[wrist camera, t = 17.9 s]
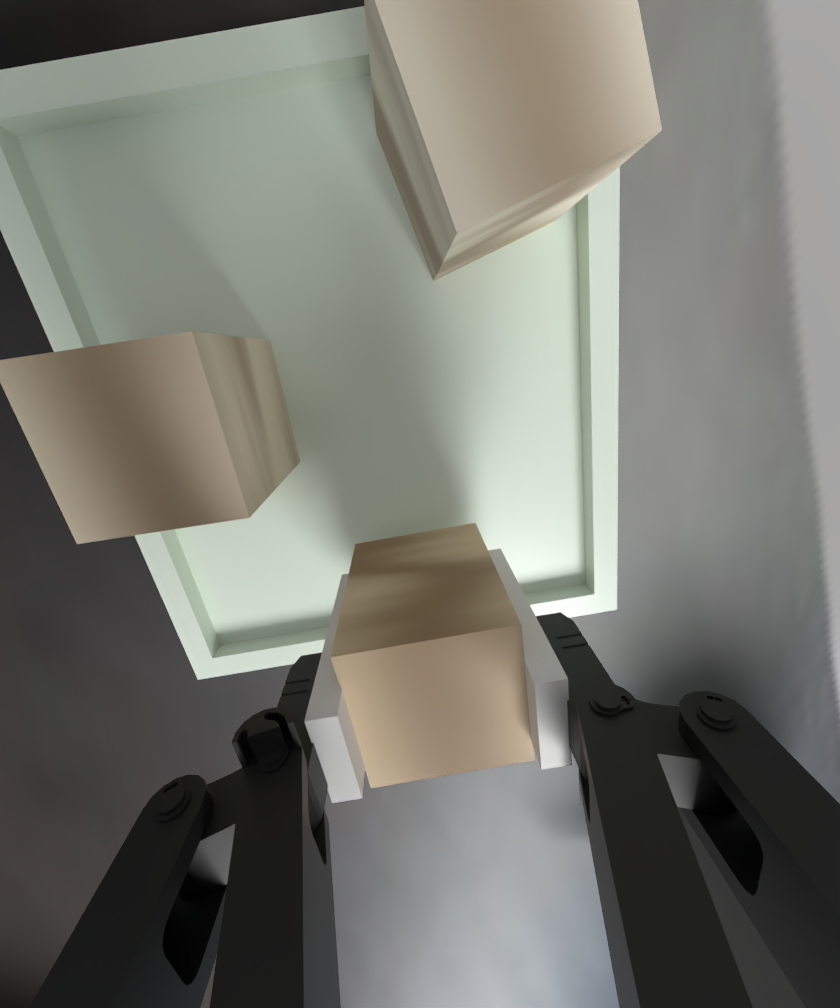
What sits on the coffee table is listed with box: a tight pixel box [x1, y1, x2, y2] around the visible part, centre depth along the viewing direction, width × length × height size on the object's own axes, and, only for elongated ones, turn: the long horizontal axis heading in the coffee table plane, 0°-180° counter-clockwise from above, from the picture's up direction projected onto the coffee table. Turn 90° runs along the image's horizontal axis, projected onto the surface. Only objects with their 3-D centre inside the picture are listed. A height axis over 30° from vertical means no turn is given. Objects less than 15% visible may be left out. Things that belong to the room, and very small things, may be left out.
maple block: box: [364, 0, 662, 281], centre depth 11 cm, size 4×4×6 cm
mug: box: [677, 807, 805, 1008], centre depth 20 cm, size 14×9×12 cm
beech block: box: [0, 331, 300, 544], centre depth 13 cm, size 4×4×6 cm
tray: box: [0, 6, 620, 680], centre depth 16 cm, size 19×21×2 cm
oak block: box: [331, 523, 535, 788], centre depth 13 cm, size 4×4×6 cm
